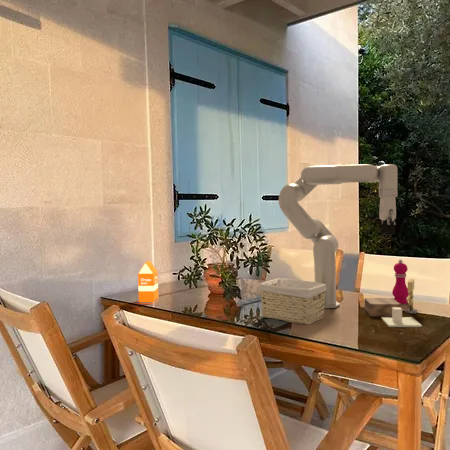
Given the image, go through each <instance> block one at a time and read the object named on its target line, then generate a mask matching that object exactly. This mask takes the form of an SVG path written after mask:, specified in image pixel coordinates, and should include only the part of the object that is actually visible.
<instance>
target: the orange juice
mask: <svg viewBox="0 0 450 450" xmlns="http://www.w3.org/2000/svg"><path fill="white" fill-rule="evenodd" d="M158 273H159V272H158V269H156V267H155V266H154V264H153V263H152V262H151V260H148V261H145V262H144V263H143V266H142V267H141V269H140V270H139V272H138V273H137V278H138V279H137V281H138V283H137V284H138V285H137V287H138V289H137V290H138V303H139V302H154V301H155V300H156V299H157V298H158V299H159V277H158Z"/></svg>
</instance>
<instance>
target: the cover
mask: <svg viewBox="0 0 450 450" xmlns="http://www.w3.org/2000/svg"><path fill="white" fill-rule="evenodd" d="M380 318H381V320H382V321H383V322H384V323H385V324H386V325H387V326H388V327H389V328H422V327H423V325H422V324H421V323H420V322H419V321H417V320H416V319H415V318H414V317H413V316H409V317H408V316H407V317H406V316H405V317H404V316H403V309H402V307H401V306H400V307H392V316H380Z"/></svg>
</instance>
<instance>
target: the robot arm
mask: <svg viewBox="0 0 450 450" xmlns="http://www.w3.org/2000/svg"><path fill="white" fill-rule="evenodd" d="M377 182H378V198H380V199H379V212H378V213H379V214H378V215H379V217H378V218H379V220H381V225H380V226H381V233H385V234H386V233H387V235H396V219H397V205H396V203H397V201H396V198H398V166H397V165H396V164H391V163H389V164H382V165H374V164H370V163H369V164H367V163H365V164H364V163H363V164H345V165H343V164H334V165H333V164H331V165H328V164H327V165H313V166H312V165H309V166H306V167H304V168H303V169H302V171H301V173H300V177H299V178H298V179H297V180H296V181H295V182H294V183H288V184H285V185H284V186H283V187H282V188H281V190H280V192H279V195H278V205H279V208H280V210H281V212H282V213H283V215H284V216H285V217H286V218H287V219H288V221H289V222H290V223H291V224H292V226H293V227H294V228H295V229H296V231H298V232H299V234H300V236H301V237H303V238H305V239H306V240H310V241H311V242H312V243H313V247H312V253H313V264H314V266H313V269H314V282H317V283H322V284H326V288H327V289H326V291H325V303H324V306H325V307H324V309H337V308H339V307H340V305H341V304H340V302H338V301H337V269H336V268H337V267H336V262H337V261H336V253H337V251H338V249H339V241H338V239H337V238H336V236H334V234H332V232H331V231H330V230H329V229H328V228H327V226H326V225H324V223H323V222H322V221H321V220H320V219H318V218H314V217H311V215H310V214H309V213H308V212H307V211H306V210H305V209H304V208H303V206H302V205H300V203H299V202H300V201H303V199H305V198H306V197H307V196H308V195H310V193H311V192H312V191H314V189H316V187H317V186H319V185H342V184H345V183H377Z"/></svg>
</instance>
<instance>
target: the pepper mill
mask: <svg viewBox="0 0 450 450" xmlns="http://www.w3.org/2000/svg"><path fill="white" fill-rule="evenodd" d="M403 262H404V261H403V260H402V259H399V260H398V262H397V263H395V264H394V266H393V271H394V272H395V273H394V277H395V284H394V286H393V288H392V291H391V294H392V296H393V299H395V300H396V301H397V302H398V303H400V305H406V304H409V301H407V297H408V295H409V292H408V285H407V283H406V278H407V272H408V266H407V264H406V263H403Z"/></svg>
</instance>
